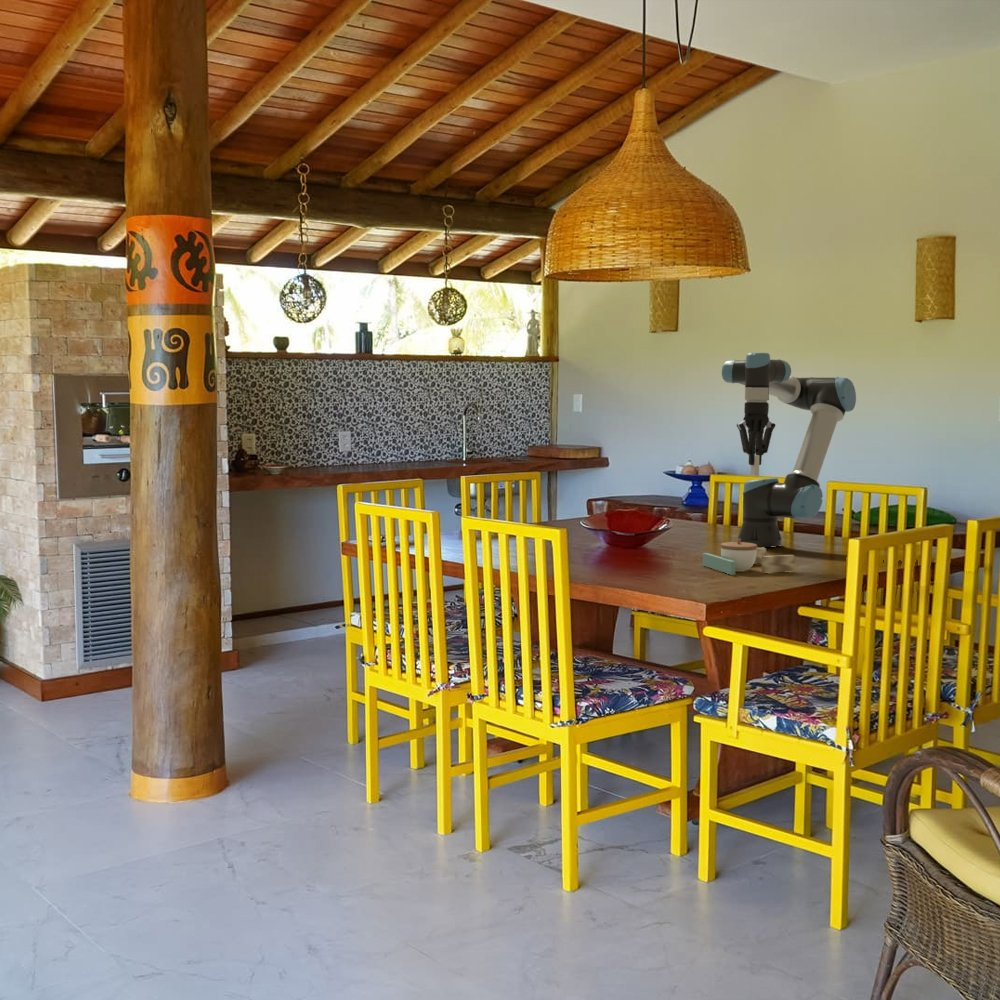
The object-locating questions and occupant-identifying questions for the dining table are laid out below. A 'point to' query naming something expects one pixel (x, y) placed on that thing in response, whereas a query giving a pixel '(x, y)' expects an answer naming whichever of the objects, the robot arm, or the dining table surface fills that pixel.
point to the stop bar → (718, 563)
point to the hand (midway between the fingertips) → (754, 475)
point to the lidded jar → (740, 553)
